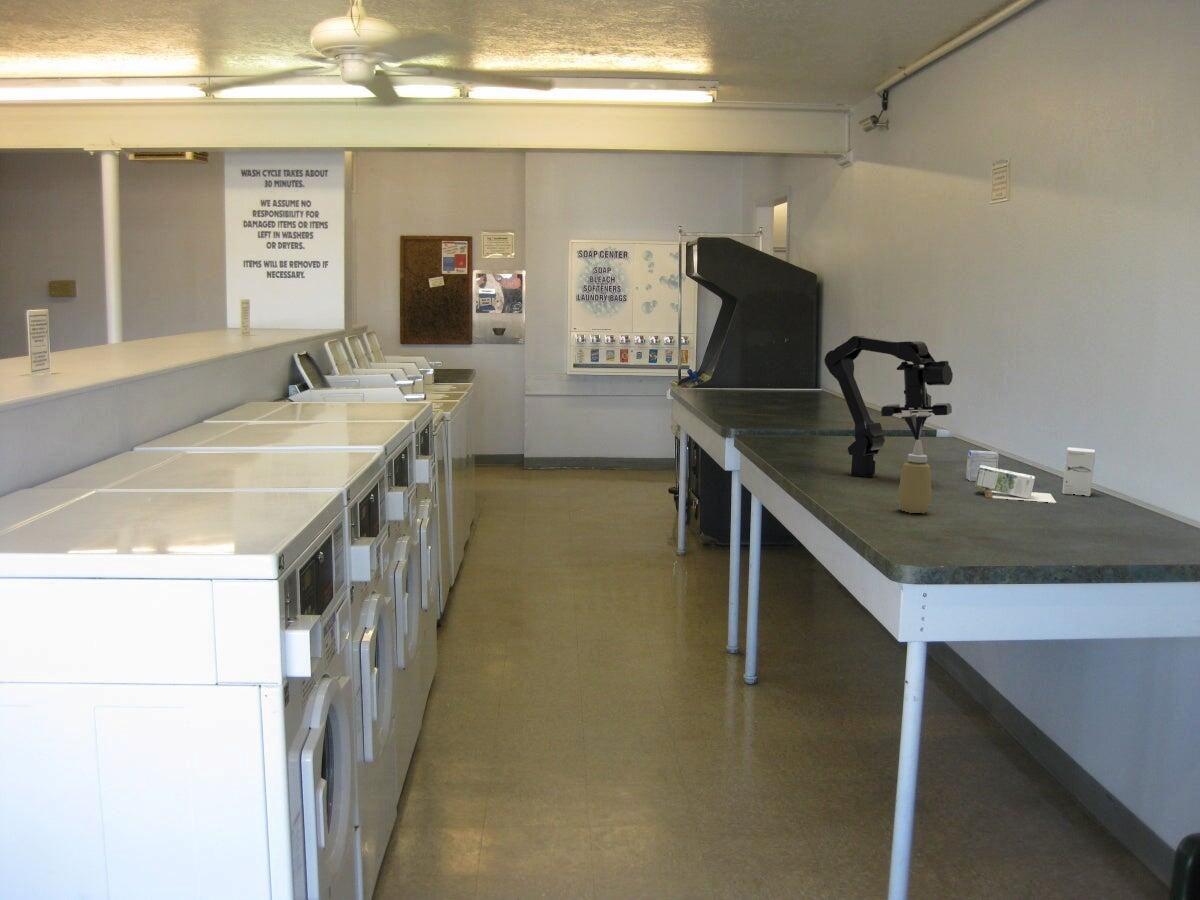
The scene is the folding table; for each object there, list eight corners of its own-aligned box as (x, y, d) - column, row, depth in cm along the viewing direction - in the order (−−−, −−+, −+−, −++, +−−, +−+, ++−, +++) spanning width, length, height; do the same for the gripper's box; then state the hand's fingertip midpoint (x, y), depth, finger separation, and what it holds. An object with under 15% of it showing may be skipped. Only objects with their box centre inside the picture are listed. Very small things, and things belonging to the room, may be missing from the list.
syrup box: (976, 484, 302) (1030, 496, 296) (974, 487, 296) (1030, 499, 291) (980, 464, 301) (1035, 475, 295) (978, 466, 295) (1035, 478, 290)
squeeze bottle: (930, 510, 272) (936, 439, 269) (929, 516, 264) (935, 443, 261) (897, 507, 274) (902, 437, 272) (895, 513, 267) (900, 441, 264)
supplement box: (1061, 494, 303) (1066, 449, 301) (1062, 490, 310) (1067, 446, 308) (1090, 497, 300) (1095, 451, 298) (1090, 493, 307) (1095, 448, 305)
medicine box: (992, 480, 323) (995, 451, 322) (996, 482, 318) (999, 453, 317) (965, 478, 324) (967, 450, 322) (968, 481, 319) (971, 452, 318)
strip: (985, 497, 294) (985, 491, 293) (982, 489, 305) (983, 484, 305) (991, 497, 293) (992, 491, 293) (988, 490, 305) (989, 484, 304)
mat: (992, 498, 292) (992, 497, 292) (989, 489, 305) (989, 488, 305) (1056, 503, 288) (1056, 502, 288) (1050, 494, 301) (1050, 493, 301)
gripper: (955, 381, 310) (957, 435, 312) (891, 383, 320) (893, 435, 322) (945, 385, 301) (947, 441, 303) (879, 387, 311) (882, 441, 313)
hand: (917, 439), depth 310 cm, fingers closed
